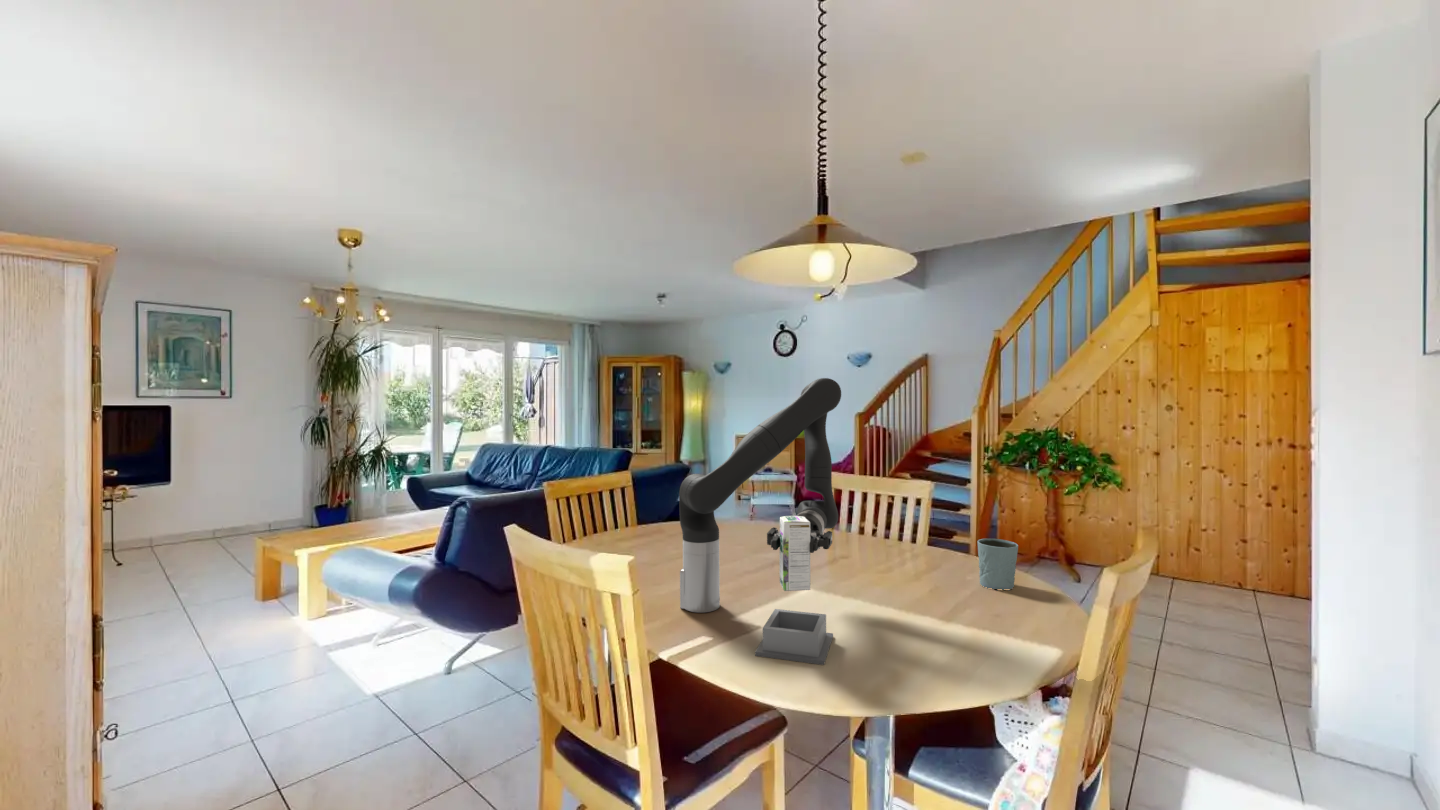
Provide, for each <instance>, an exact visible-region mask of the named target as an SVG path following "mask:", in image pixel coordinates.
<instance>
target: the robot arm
mask: <svg viewBox="0 0 1440 810" xmlns="http://www.w3.org/2000/svg"><path fill="white" fill-rule="evenodd" d="M841 399H842V389H841V387H840V385H839V383H838V382H837V381H835V380H834V379H831V378H828V377H821V378H817V379H815V380H813V381H812V382H810V383H808V384H807V385H806V386H805V387H804V388H803V389H802V390H801V393H800V395H799V396H798V398H796V399H795V400H794V401H793V402H792V403H790V404H788V406H786V407H785V408H782V409H781V410H779V411H778V412H776V413H774V414H772V415H771V416H769V417H768V418H766V419H764V421H762V422H760V424H758V425H757V426H756V427H754V428H753V429H752V430H750V431H749V432H747V434H746V435H744V436H743V438H742V439H741V440H740V441H739V442H738V444H737V445H736V447H735V448H734V450H733V452H732V453H731V454H730V456H729V457H728V458H727V459H726V460H725V461H724V462H723V463H722V464H720V465H719V466H718V467H716V468H715V469H714V470H712V471H711V472H708V473H707V474H702V473H692V474H690V475H688V476H687V477H685V478H684V480H682V482H681V484H680V487H679V494H678V496H679V497H678V502H679V503H678V505H679V524H680V528H681V532H682V533H681V534H682V568H681V569H680V570H679V595H680V596H679V597H680V598H679V600H680V601H679V602H680V603H679V607H680V609H683V610H685V611H689V612H692V613H699V614H700V613H710V612H714V611H717V610H718V609H719V608H720V607H721V605H720V604H721V602H720V601H721V598H720V597H721V596H720V595H721V594H720V592H721V591H720V589H721V588H720V587H721V586H720V584H721V583H720V528H719V526H718V524H717V521H716V518H715V511H717V509H719V508H720V507H721V506H722V505H723V504H724V503H725V502H726V501H727V499H728V498H729V497H731V496H732V494H734V493H735V491H736V490H737V489H738V488H739V487H740V486H741V485H743V484H744V483H745V482H746V481H748V480H749V479H750V478H751V477H752V476H754V475H755V474H756V473H757V472H759V471H760V470H762V468H764V467H765V466H766V465H767V464H769V463H771V461H772V460H774V459H775V458H776V457H778V455H780V454H781V453H782V452H783V451H784V450H785V449H787V447H789V446H790V444H792V442H794V441H795V440H796V439H797V438H798V437H799V436H800V435H801V434H802V433H804V435H803V436H804V451H805V452H804V453H805V454H804V457H805V458H804V488H805V489H806V490H807V491H809V492H813V493H817V494H820V495H821V496H822V497H823V500H803V501H801V502H800V503H799V504H798V506H797V511H796V516H802V517H805V518H806V519H807V520H808V521H809V522H810V554H811V553H812V554H814V552H818V550H820V549H821V548H822V549H824V550H829V549H830V548H831V546H832V544H833V531H831V530H829V529H833V528H834V527H836V525H837V524H838V521H839V511H838V508H837V505H836V501H835V498H834V492H833V484H832V483H833V481H832V479H833V477H832V473H833V472H832V469H833V468H832V467H833V466H832V464H833V463H832V461H833V460H832V455H831V454H832V453H831V451H830V447H829V443H828V439H827V431H826V430H827V429H826V427H827V426H826V424H827V417H828V413H829V412H831V411H833V410H834V409H836V408H837V406H838V405H839V403H840V401H841ZM825 529H828V530H829V531H828V530H827V531H826V532H825V531H824V530H825ZM766 544H767V545H768V546H770V548H772V551H773V550H774V551H777V550H778V549H780V530H779V529H778V528H777V527H772V528H770V529H769V530H768V532H767V533H766Z"/></svg>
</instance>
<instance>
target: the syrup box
mask: <svg viewBox="0 0 1440 810" xmlns="http://www.w3.org/2000/svg"><path fill="white" fill-rule="evenodd" d="M779 531H780V547H779V555H778V556H779V559H778V560H779V563H778V565H779V584H780V586H781V587H782V590H783V591H784V592H794V591H795V592H796V591H799V592H800V591H810V590H811V553H810V522H809V521H808V520H807V519H806V518H805V517H802V516H797V515H785V516H784V515H783V516H780V517H779Z"/></svg>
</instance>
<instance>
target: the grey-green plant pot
mask: <svg viewBox="0 0 1440 810" xmlns="http://www.w3.org/2000/svg"><path fill="white" fill-rule="evenodd" d="M1018 553H1019V545H1018V544H1017V543H1016V542H1014V541H1010V540H1006V539H1000V538H981V539H978V540H977V555H978V567H979V568H978V569H979V573H978V574H979V575H978V576H979V585H980V584H981V585H982V586H981V585H980V586H981V587H983V586H984V587H983V588H985V587H987V588H986V589H988V588H992V589H1002V590H1004V589H1012V588H1013V587H1015V579H1016V578H1015V576H1016V568H1017V567H1016V565H1017V559H1018ZM1013 589H1014V588H1013ZM1013 589H1012V590H1013Z"/></svg>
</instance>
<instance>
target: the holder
mask: <svg viewBox="0 0 1440 810" xmlns="http://www.w3.org/2000/svg"><path fill="white" fill-rule="evenodd" d="M833 638H834V633H833V632H827V614H825V613H816V612H807V611H800V610H799V611H797V610H790V609H789V610H787V609H781V608H780V609H778V608H774V610H773V611H772V612H771V614H770V616H769V617H768V619H767V621H766V622H765V624H764V625H763V627H762V640H761V641H760V643H759V644H758V647H757V648H756V649H755V651H754V656H755V657H763V658H769V659H778V660H785V661H791V662H798V663H799V662H800V663H805V664H807V663H808V664H812V665H813V664H814V665H820V666H824V665H825V663H826V660H827V657H828V653H829V650H830V648H831V644H832V641H833Z"/></svg>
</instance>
